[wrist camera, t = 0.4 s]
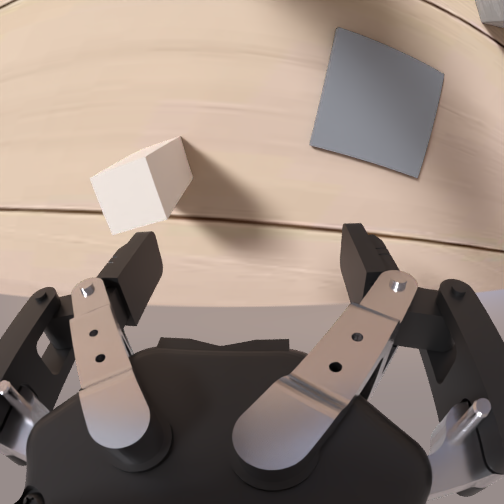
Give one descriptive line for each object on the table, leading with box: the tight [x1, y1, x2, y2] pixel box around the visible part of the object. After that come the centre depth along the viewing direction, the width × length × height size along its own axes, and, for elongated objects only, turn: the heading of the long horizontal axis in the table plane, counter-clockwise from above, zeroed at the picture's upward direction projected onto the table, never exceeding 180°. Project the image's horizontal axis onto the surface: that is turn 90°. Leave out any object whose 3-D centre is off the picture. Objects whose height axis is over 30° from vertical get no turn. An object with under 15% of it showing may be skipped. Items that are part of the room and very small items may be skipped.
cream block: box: [90, 136, 193, 235], centre depth 26 cm, size 5×5×12 cm
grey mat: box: [309, 27, 444, 178], centre depth 28 cm, size 14×14×1 cm
